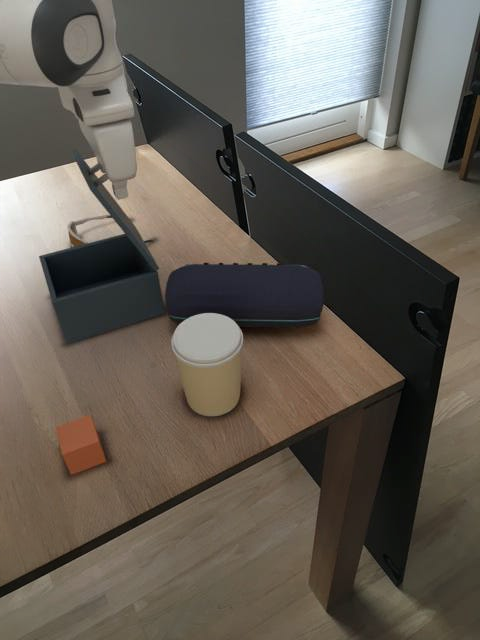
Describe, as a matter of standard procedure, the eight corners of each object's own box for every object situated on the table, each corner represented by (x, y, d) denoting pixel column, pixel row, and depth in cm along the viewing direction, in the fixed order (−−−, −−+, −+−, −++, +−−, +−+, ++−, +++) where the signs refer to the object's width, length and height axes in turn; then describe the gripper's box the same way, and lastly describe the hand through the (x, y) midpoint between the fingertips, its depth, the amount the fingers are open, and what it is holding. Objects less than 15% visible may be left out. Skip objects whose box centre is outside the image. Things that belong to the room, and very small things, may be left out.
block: (71, 475, 68) (61, 454, 65) (64, 447, 72) (55, 426, 69) (106, 461, 70) (99, 440, 67) (98, 435, 73) (91, 414, 70)
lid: (89, 189, 72) (119, 169, 72) (70, 151, 82) (96, 133, 82) (155, 271, 85) (180, 254, 85) (132, 229, 94) (154, 214, 94)
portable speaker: (320, 300, 92) (324, 252, 86) (323, 340, 85) (327, 291, 78) (175, 298, 94) (168, 251, 87) (166, 338, 87) (157, 289, 80)
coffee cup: (254, 379, 79) (252, 318, 71) (233, 428, 73) (228, 368, 65) (195, 365, 82) (187, 305, 74) (170, 412, 75) (158, 352, 67)
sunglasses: (59, 241, 109) (55, 218, 106) (126, 224, 117) (125, 203, 114) (88, 273, 100) (86, 250, 97) (159, 253, 108) (159, 231, 105)
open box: (67, 344, 86) (52, 302, 81) (52, 296, 96) (38, 255, 90) (165, 313, 91) (157, 272, 85) (142, 271, 101) (134, 230, 95)
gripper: (55, 70, 77) (78, 160, 87) (85, 118, 63) (108, 220, 73) (98, 62, 79) (116, 152, 88) (137, 108, 65) (153, 208, 74)
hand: (113, 183), depth 80 cm, fingers open, 8 cm apart
